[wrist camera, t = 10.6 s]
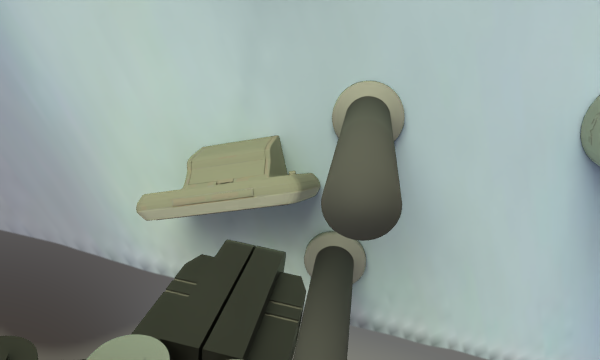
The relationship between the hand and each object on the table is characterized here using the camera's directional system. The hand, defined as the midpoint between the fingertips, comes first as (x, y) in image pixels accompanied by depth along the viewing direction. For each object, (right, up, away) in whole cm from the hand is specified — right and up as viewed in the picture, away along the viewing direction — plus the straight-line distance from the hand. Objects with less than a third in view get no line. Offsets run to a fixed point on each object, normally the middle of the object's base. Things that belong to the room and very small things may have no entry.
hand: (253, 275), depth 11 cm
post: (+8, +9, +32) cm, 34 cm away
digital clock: (-4, +3, +37) cm, 37 cm away
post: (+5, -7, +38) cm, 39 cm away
